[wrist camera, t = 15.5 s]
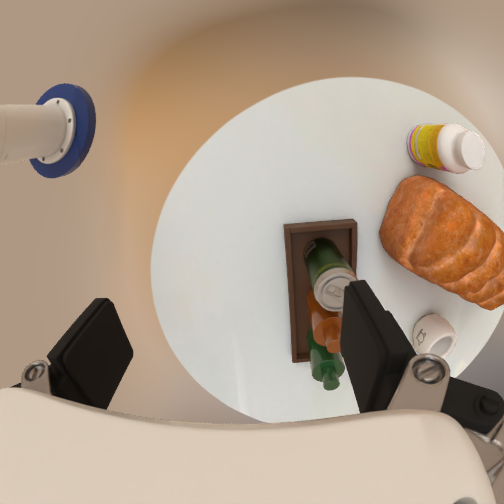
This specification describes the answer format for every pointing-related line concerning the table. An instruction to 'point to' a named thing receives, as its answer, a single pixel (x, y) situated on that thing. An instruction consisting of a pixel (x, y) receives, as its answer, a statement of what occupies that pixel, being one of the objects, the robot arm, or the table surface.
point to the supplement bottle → (446, 147)
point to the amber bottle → (324, 324)
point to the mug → (434, 336)
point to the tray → (297, 272)
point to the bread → (445, 241)
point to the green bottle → (324, 363)
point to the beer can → (327, 273)
